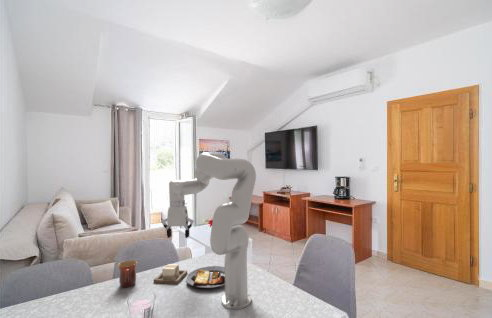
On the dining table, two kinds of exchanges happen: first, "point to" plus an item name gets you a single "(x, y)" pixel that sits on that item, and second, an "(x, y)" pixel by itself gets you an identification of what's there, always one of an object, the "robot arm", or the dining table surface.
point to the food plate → (206, 277)
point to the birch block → (171, 271)
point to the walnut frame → (166, 281)
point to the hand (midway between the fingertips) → (178, 237)
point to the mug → (127, 273)
